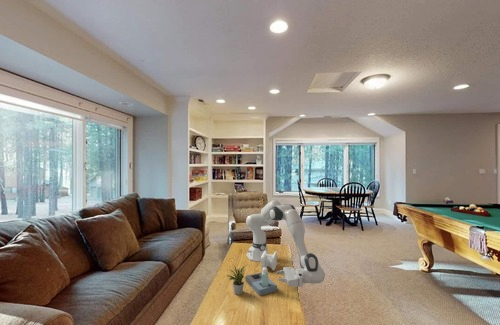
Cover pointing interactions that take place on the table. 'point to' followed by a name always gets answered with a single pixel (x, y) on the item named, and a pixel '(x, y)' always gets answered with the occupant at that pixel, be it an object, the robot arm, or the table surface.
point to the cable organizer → (269, 260)
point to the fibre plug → (264, 277)
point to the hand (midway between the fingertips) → (277, 275)
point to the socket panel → (260, 284)
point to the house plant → (237, 280)
